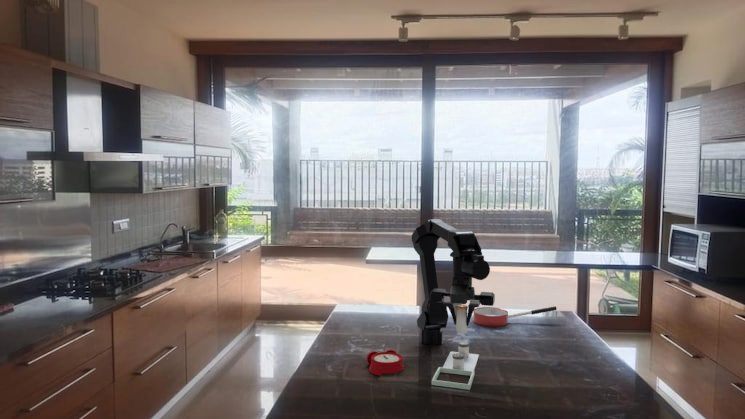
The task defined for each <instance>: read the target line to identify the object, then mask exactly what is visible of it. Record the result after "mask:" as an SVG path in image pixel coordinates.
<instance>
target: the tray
mask: <svg viewBox="0 0 745 419" xmlns="http://www.w3.org/2000/svg"><path fill="white" fill-rule="evenodd" d="M441 373H445V374H451V375H452V374H454V375H462V376H467V377H468V376H469V377H470V378H469V380H468V382H467V383H461V382H456V381H455V382H453V381H446V380H439V379H438V377H439V376H440V374H441ZM474 378H475V370H474V371H469V370H461V369H453V368H444V367H443V366H438V368H437V369H436V371H435V373H434V375H433V377H432V379H431V389H433V390H441V389H442V391H450V392H457V393H462V394H463V393H464V394H470V393H471V391H470V390H471V388H472V384H473V381H474Z"/></svg>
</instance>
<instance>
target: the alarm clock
mask: <svg viewBox="0 0 745 419" xmlns="http://www.w3.org/2000/svg"><path fill="white" fill-rule="evenodd" d="M366 362H367V364H368V365H369V367H368V370H369V373H371V374H373V375H376V376H379V377H381V375H383V374H394V373H399V372H401V371H403V370H404V369H405V365H404V363H403V356H402V355H401V354H400V353H398V352H396V351H395V350H394V349H387V350H386V351H379V352H377V351H374V350H372V351H370V352H369V353H368V354H367V356H366Z"/></svg>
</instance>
